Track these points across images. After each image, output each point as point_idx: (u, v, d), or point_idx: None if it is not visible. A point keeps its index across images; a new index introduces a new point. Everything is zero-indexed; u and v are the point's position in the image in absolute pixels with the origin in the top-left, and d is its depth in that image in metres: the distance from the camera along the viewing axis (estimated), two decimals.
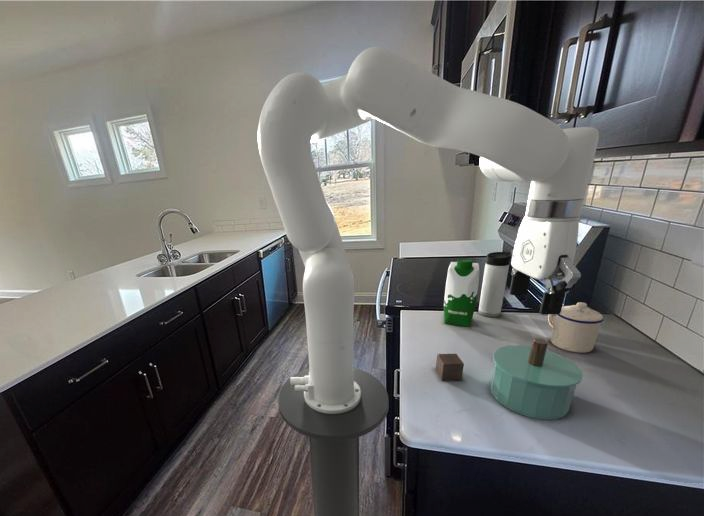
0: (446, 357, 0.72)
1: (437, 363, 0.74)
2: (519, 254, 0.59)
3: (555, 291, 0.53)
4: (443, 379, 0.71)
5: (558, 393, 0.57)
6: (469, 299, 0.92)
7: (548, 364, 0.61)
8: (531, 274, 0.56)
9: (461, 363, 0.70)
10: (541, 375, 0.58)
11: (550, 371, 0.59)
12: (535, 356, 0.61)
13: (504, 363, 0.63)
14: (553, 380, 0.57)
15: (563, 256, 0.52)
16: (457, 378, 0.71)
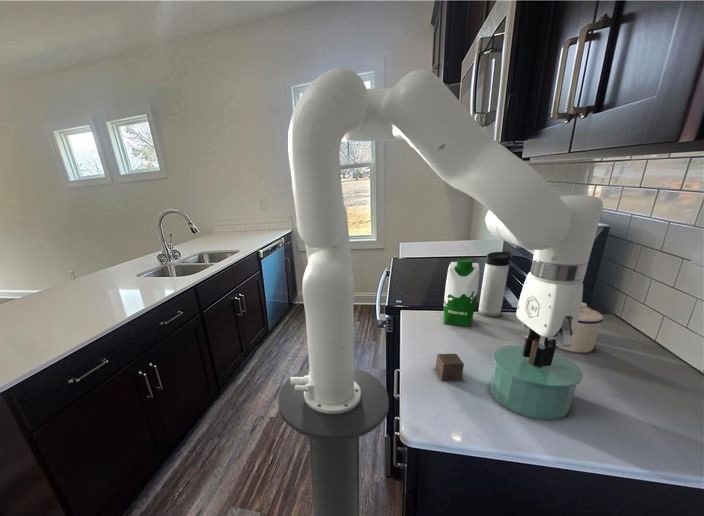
0: (446, 357, 0.72)
1: (437, 363, 0.74)
2: (524, 308, 0.60)
3: (546, 347, 0.57)
4: (443, 379, 0.71)
5: (558, 393, 0.57)
6: (469, 299, 0.92)
7: None
8: (536, 330, 0.57)
9: (461, 363, 0.70)
10: (541, 375, 0.58)
11: (550, 371, 0.59)
12: None
13: (504, 363, 0.63)
14: (553, 380, 0.57)
15: (565, 321, 0.54)
16: (457, 378, 0.71)
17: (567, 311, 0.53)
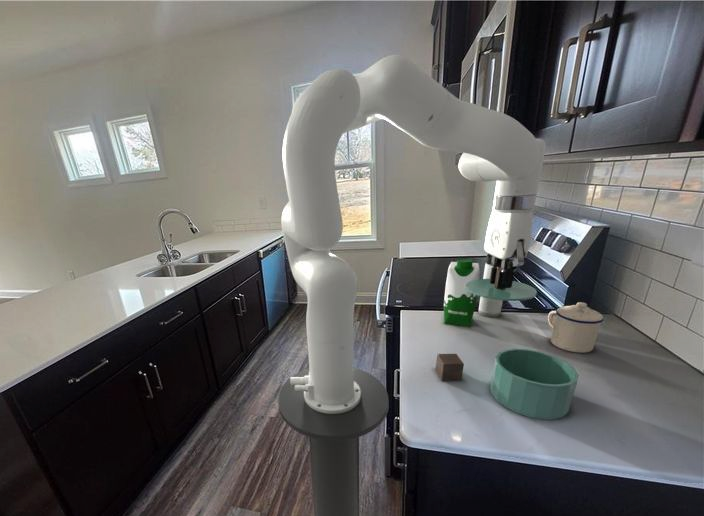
0: (446, 357, 0.72)
1: (437, 363, 0.74)
2: (489, 240, 0.73)
3: (506, 269, 0.70)
4: (443, 379, 0.71)
5: (558, 393, 0.57)
6: (469, 299, 0.92)
7: (510, 288, 0.74)
8: (497, 255, 0.69)
9: (461, 363, 0.70)
10: (503, 294, 0.71)
11: (510, 291, 0.72)
12: None
13: (474, 288, 0.75)
14: (512, 296, 0.69)
15: (519, 244, 0.66)
16: (457, 378, 0.71)
17: (520, 235, 0.65)
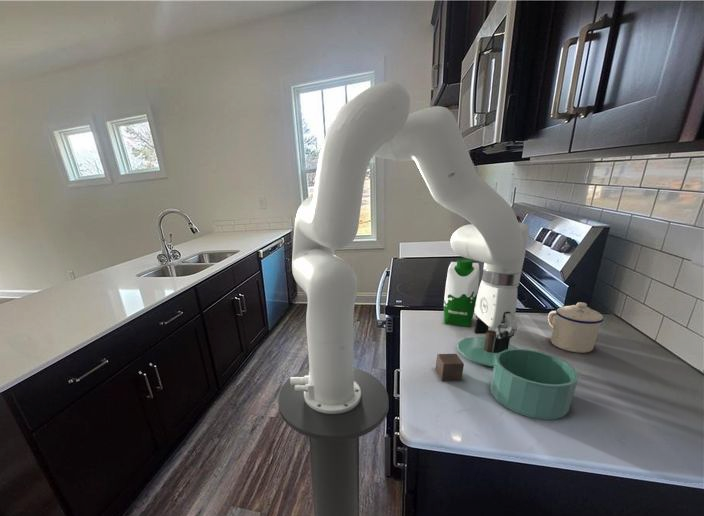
0: (446, 357, 0.72)
1: (437, 363, 0.74)
2: (479, 306, 0.78)
3: (501, 337, 0.72)
4: (443, 379, 0.71)
5: (558, 393, 0.57)
6: (469, 299, 0.92)
7: None
8: (486, 323, 0.75)
9: (461, 363, 0.70)
10: (491, 358, 0.77)
11: None
12: (488, 344, 0.79)
13: (465, 350, 0.81)
14: None
15: (507, 312, 0.71)
16: (457, 378, 0.71)
17: (506, 308, 0.71)
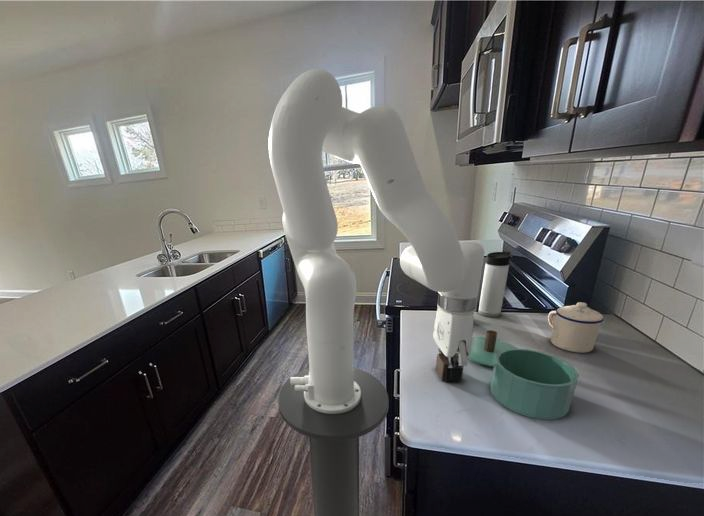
0: (446, 357, 0.72)
1: (437, 363, 0.74)
2: (436, 331, 0.72)
3: (452, 366, 0.68)
4: (443, 379, 0.71)
5: (558, 393, 0.57)
6: None
7: (498, 350, 0.80)
8: (442, 351, 0.69)
9: None
10: (491, 358, 0.77)
11: None
12: (488, 344, 0.79)
13: None
14: None
15: (462, 343, 0.65)
16: None
17: (461, 336, 0.64)
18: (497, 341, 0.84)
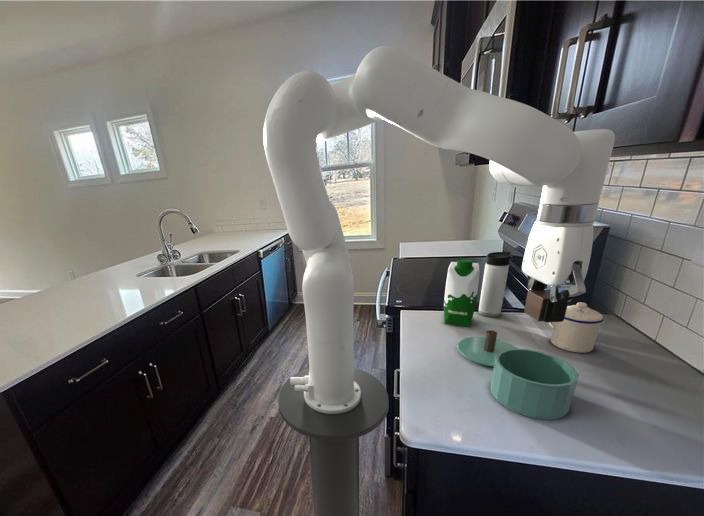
0: (542, 293, 0.58)
1: (529, 301, 0.59)
2: (530, 259, 0.57)
3: (558, 300, 0.53)
4: (540, 319, 0.57)
5: (558, 393, 0.57)
6: (469, 299, 0.92)
7: (498, 350, 0.80)
8: (543, 280, 0.54)
9: None
10: (491, 358, 0.77)
11: None
12: (488, 344, 0.79)
13: (465, 350, 0.81)
14: None
15: (576, 266, 0.50)
16: None
17: (577, 255, 0.50)
18: (497, 341, 0.84)
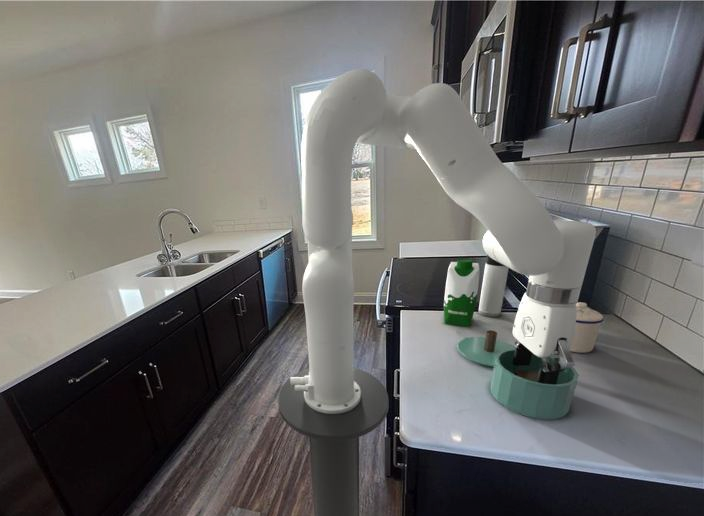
0: (527, 375, 0.64)
1: None
2: (520, 327, 0.62)
3: (550, 370, 0.57)
4: None
5: (558, 393, 0.57)
6: (469, 299, 0.92)
7: (498, 350, 0.80)
8: (531, 350, 0.58)
9: None
10: (491, 358, 0.77)
11: None
12: (488, 344, 0.79)
13: (465, 350, 0.81)
14: None
15: (561, 340, 0.55)
16: None
17: (561, 333, 0.54)
18: (497, 341, 0.84)
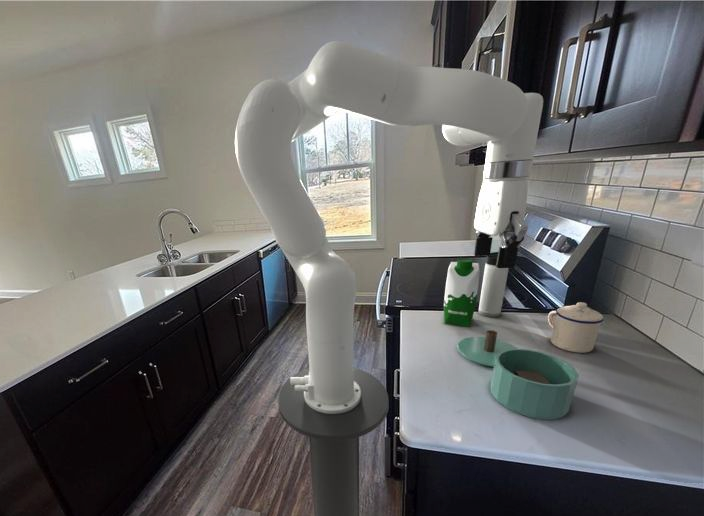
0: (527, 375, 0.64)
1: None
2: (480, 215, 0.64)
3: (508, 245, 0.58)
4: None
5: (558, 393, 0.57)
6: (469, 299, 0.92)
7: (498, 350, 0.80)
8: (488, 232, 0.61)
9: (547, 382, 0.61)
10: (491, 358, 0.77)
11: None
12: (488, 344, 0.79)
13: (465, 350, 0.81)
14: None
15: (514, 212, 0.57)
16: None
17: (513, 206, 0.57)
18: (497, 341, 0.84)
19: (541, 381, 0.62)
